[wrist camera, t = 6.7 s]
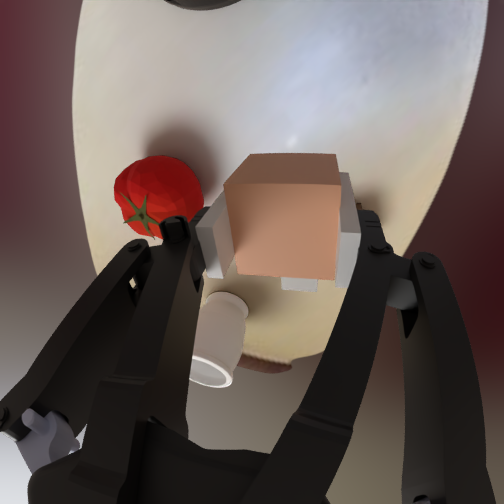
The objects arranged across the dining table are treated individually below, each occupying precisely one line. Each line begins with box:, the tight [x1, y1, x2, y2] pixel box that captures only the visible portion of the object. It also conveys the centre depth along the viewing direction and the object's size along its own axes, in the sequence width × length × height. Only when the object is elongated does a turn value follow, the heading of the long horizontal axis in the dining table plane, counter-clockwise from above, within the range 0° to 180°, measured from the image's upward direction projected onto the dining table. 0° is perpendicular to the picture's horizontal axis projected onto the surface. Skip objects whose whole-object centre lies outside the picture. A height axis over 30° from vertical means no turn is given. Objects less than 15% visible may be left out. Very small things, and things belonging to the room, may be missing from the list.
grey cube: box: [281, 277, 318, 292], centre depth 39 cm, size 5×5×5 cm
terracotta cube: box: [223, 153, 341, 280], centre depth 14 cm, size 5×5×5 cm
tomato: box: [114, 155, 204, 240], centre depth 34 cm, size 11×13×10 cm
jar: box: [189, 292, 248, 388], centre depth 46 cm, size 11×10×15 cm
